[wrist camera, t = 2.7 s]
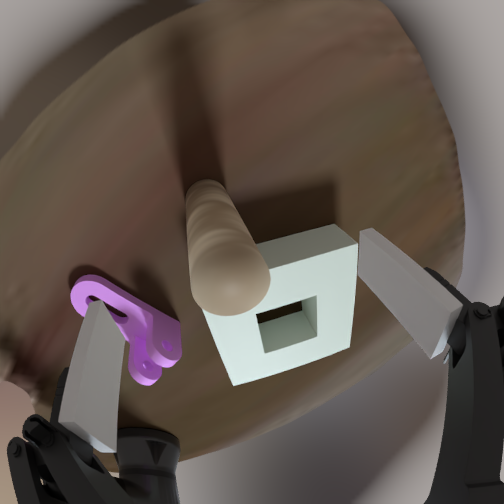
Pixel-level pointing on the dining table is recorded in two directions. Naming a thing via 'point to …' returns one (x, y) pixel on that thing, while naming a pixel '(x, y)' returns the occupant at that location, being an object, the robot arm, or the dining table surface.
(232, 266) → the peg
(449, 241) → the dining table surface
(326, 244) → the socket block
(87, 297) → the bracket
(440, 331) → the robot arm
